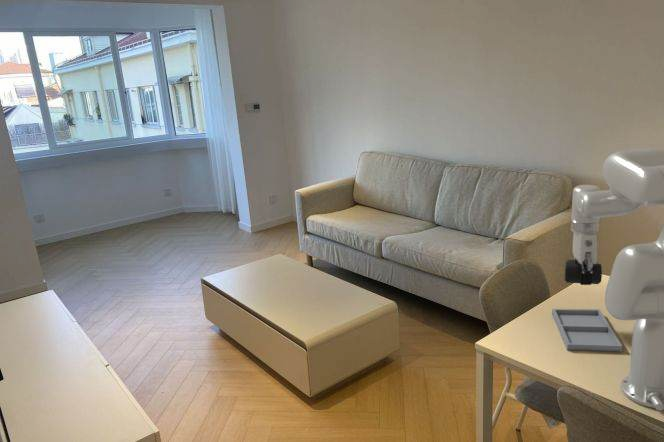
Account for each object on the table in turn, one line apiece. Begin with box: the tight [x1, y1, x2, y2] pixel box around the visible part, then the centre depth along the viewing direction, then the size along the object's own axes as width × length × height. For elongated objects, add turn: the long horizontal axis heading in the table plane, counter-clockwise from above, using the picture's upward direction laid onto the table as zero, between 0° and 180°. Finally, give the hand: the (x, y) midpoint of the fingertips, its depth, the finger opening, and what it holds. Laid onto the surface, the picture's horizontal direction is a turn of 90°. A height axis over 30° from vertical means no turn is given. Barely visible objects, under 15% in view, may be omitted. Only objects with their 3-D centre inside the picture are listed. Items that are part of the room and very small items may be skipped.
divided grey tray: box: [551, 308, 623, 353], centre depth 155 cm, size 22×15×2 cm, turn 167°
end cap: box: [563, 259, 603, 285], centre depth 155 cm, size 10×7×7 cm
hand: (582, 278), depth 155 cm, fingers closed on end cap, 7 cm apart
